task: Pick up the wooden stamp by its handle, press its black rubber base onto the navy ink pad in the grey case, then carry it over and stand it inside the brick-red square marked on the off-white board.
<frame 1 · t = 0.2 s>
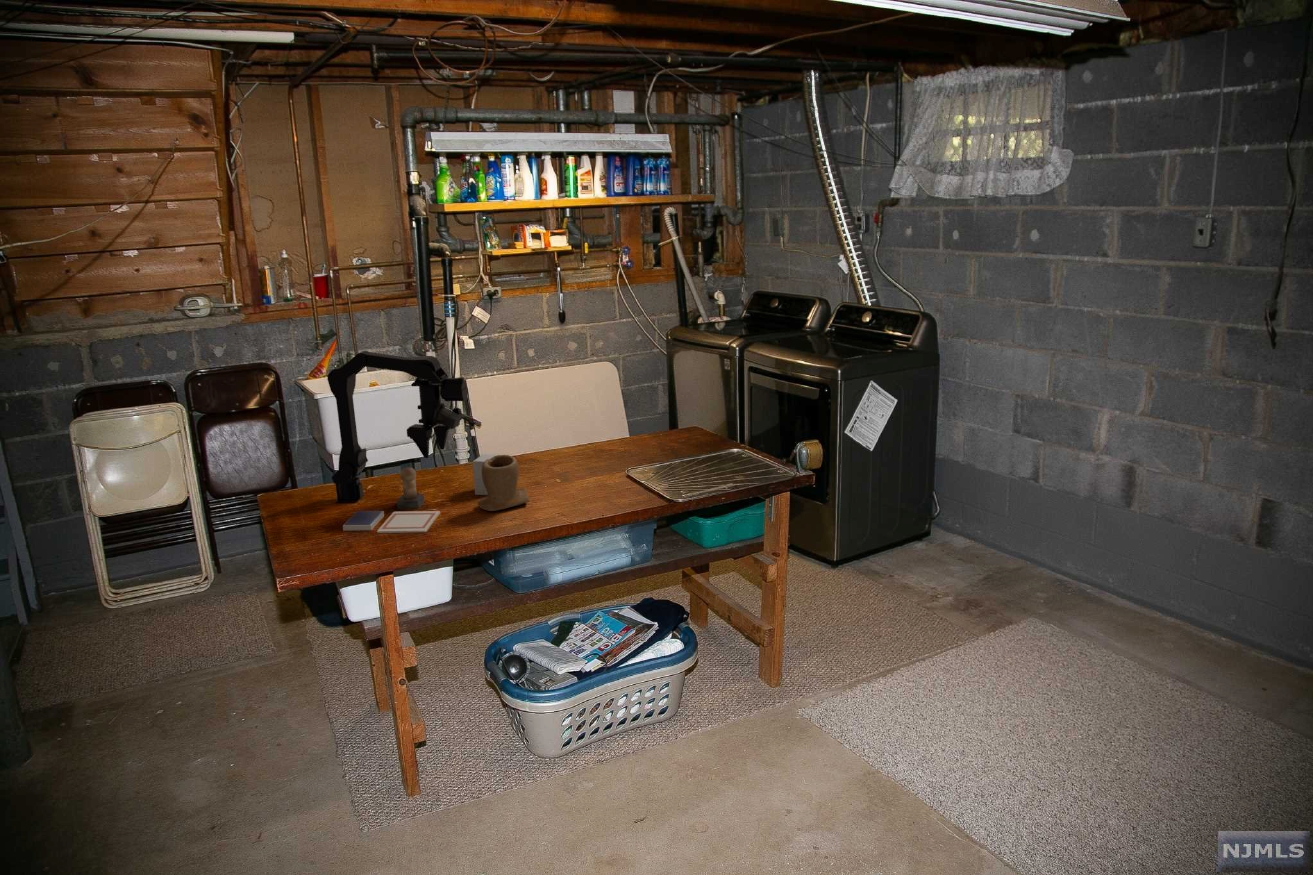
hand: (434, 453, 262), 14 cm above the table, tool pointing down, fingers open, 9 cm apart
small box: (488, 491, 273), on the table
stone cup: (506, 507, 259), on the table
stamp: (411, 505, 262), on the table
ink pad: (364, 523, 248), on the table
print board: (409, 522, 248), on the table
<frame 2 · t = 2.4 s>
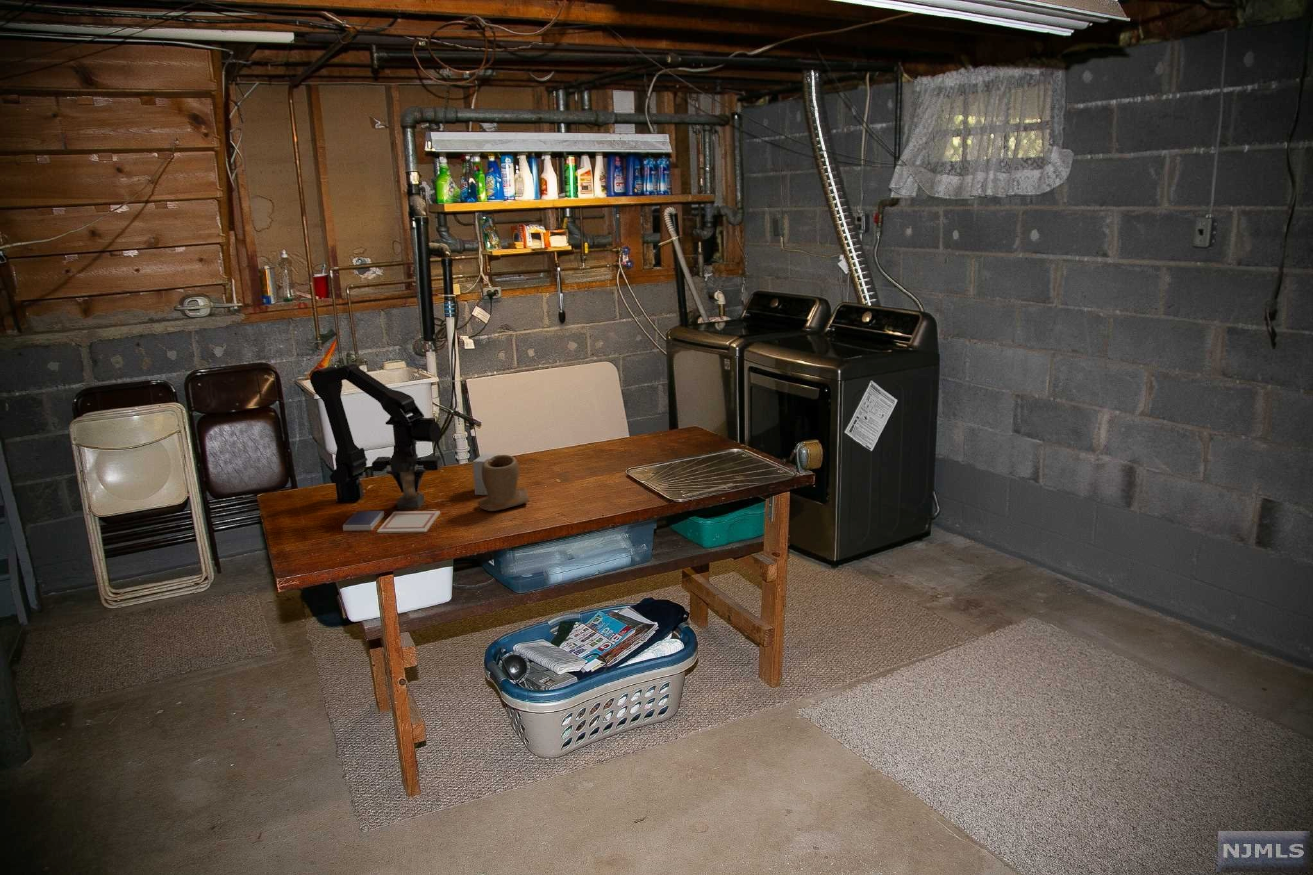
hand: (409, 492, 260), 4 cm above the table, tool pointing down, fingers closed on stamp, 4 cm apart
stamp: (411, 505, 262), on the table, touching gripper
everything else where it was.
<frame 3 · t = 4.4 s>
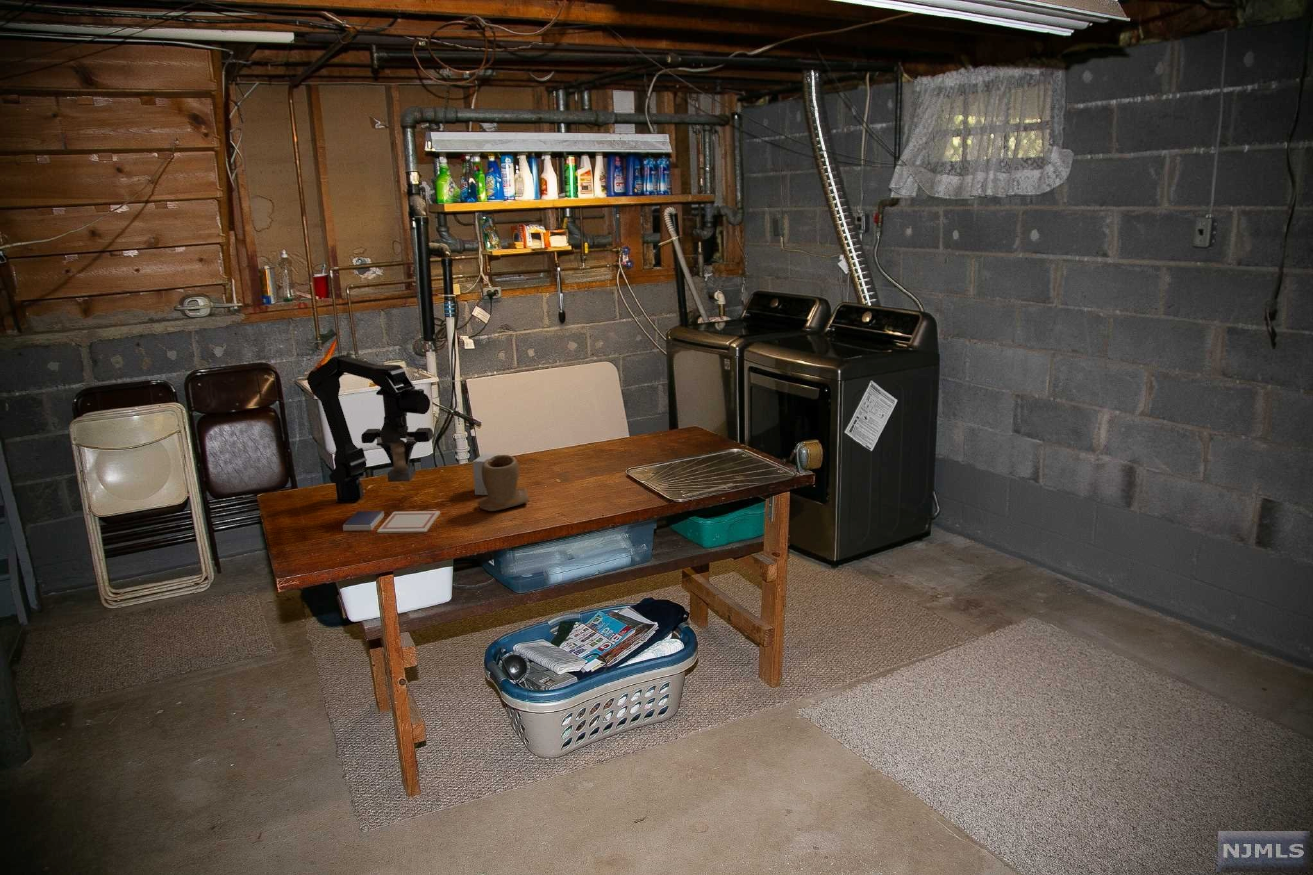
hand: (400, 464, 256), 13 cm above the table, tool pointing down, fingers closed on stamp, 4 cm apart
stamp: (401, 478, 257), point 9 cm above the table, touching gripper
everything else where it was.
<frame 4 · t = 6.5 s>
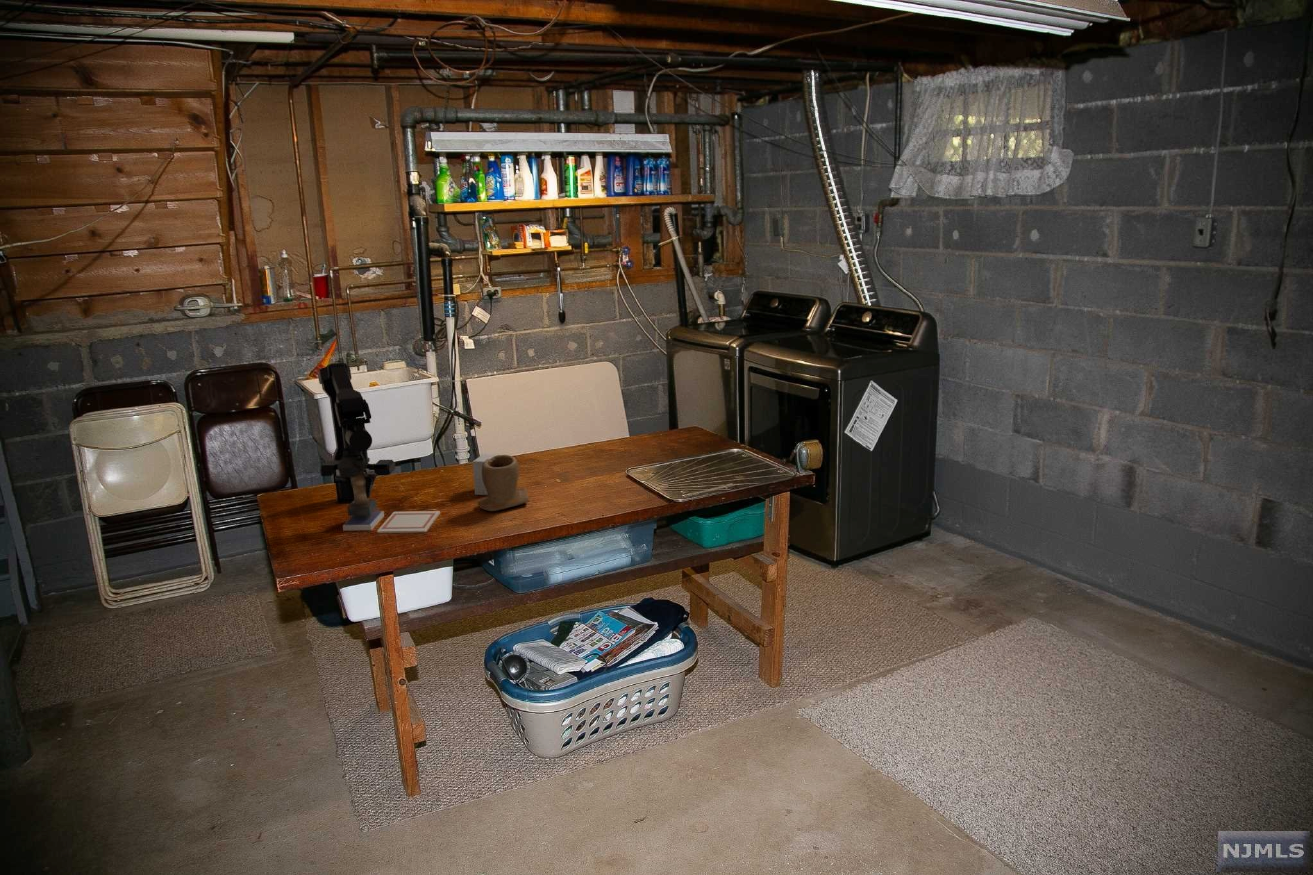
hand: (361, 497, 246), 7 cm above the table, tool pointing down, fingers closed on stamp, 4 cm apart
stamp: (362, 511, 247), point 3 cm above the table, touching gripper
everything else where it was.
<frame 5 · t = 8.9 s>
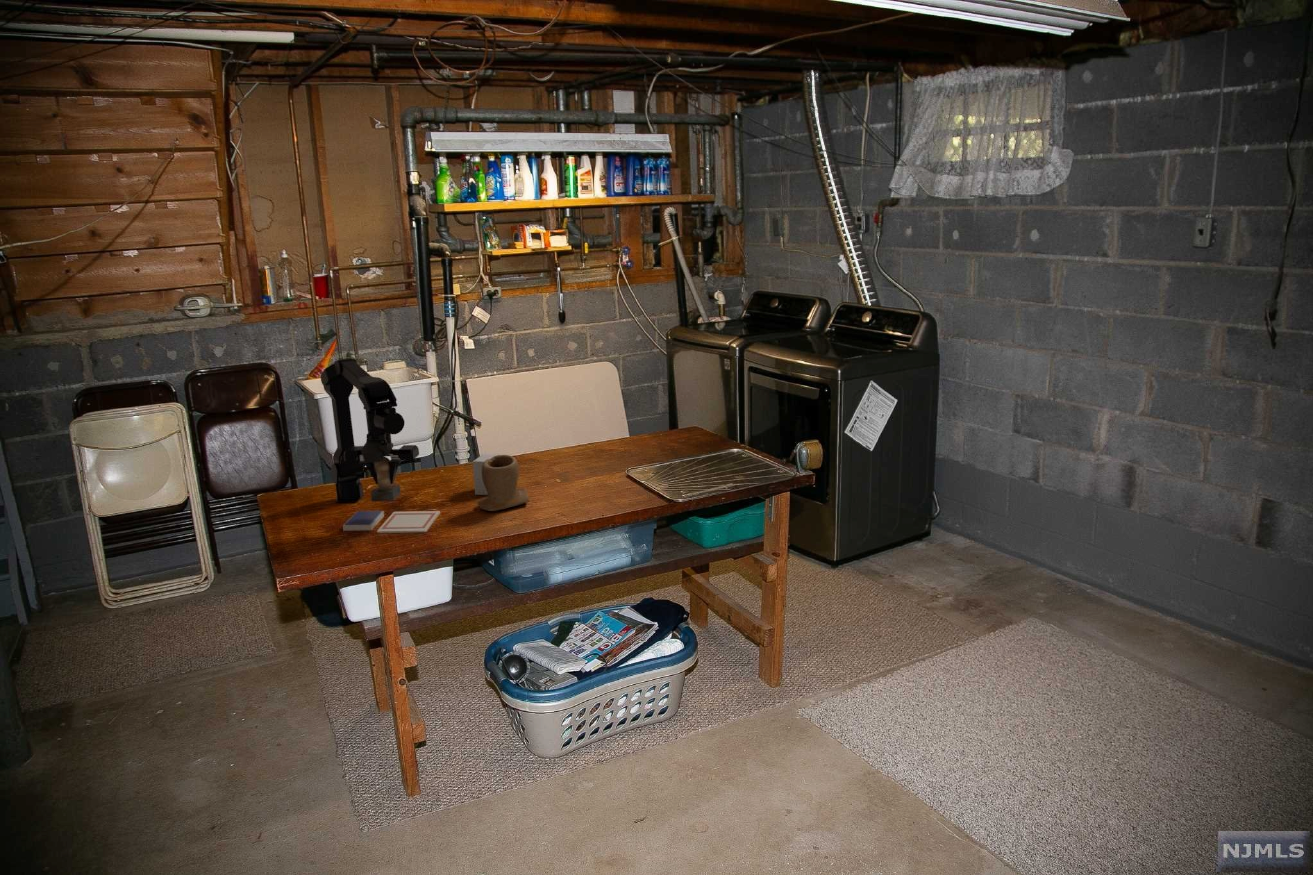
hand: (384, 483, 245), 11 cm above the table, tool pointing down, fingers closed on stamp, 4 cm apart
stamp: (386, 497, 246), point 7 cm above the table, touching gripper
everything else where it was.
when the fingers open (5 cm above the table, at t = 10.9 s): stamp drops 1 cm, resting on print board.
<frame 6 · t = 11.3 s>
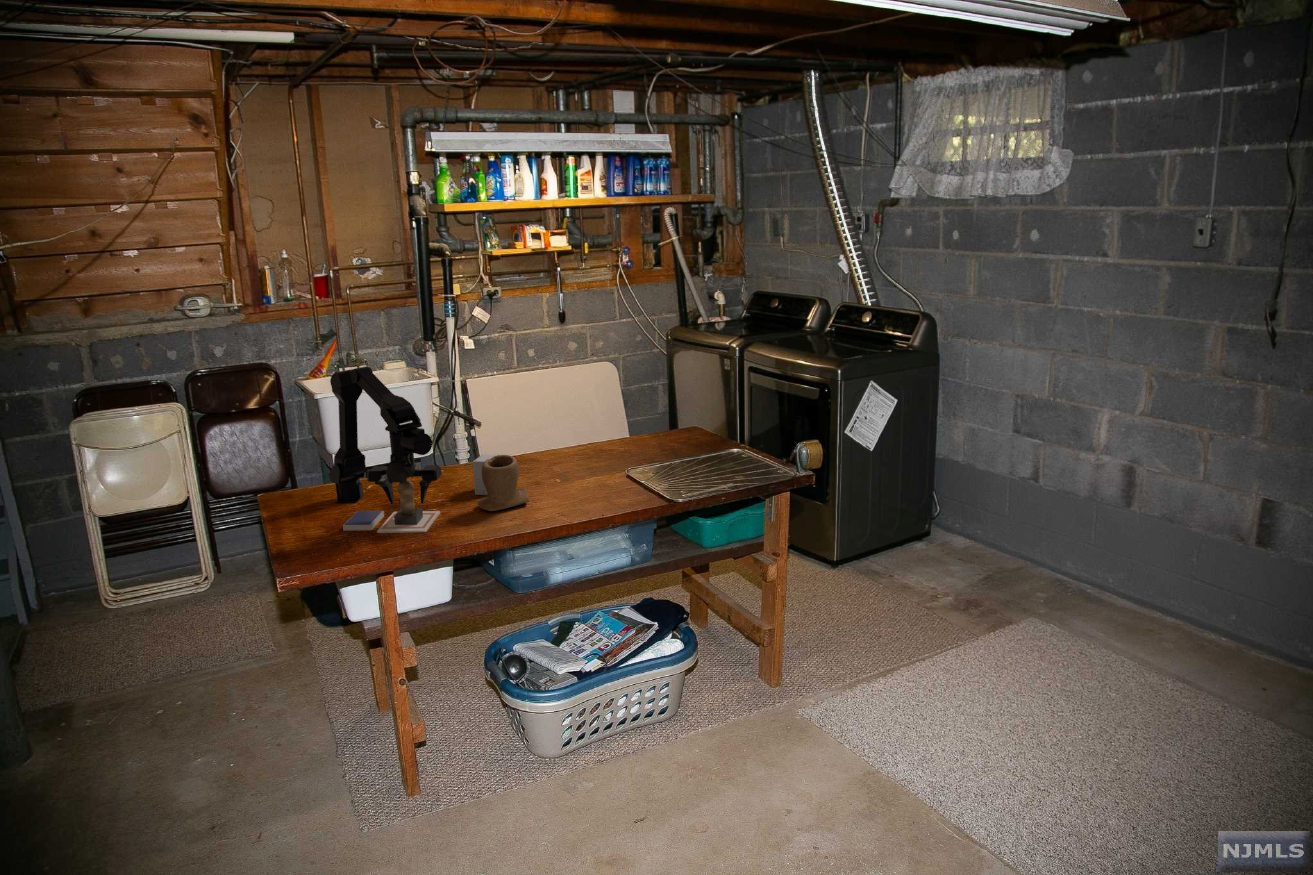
hand: (407, 503, 246), 5 cm above the table, tool pointing down, fingers open, 8 cm apart
stamp: (409, 520, 248), resting on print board
everything else where it was.
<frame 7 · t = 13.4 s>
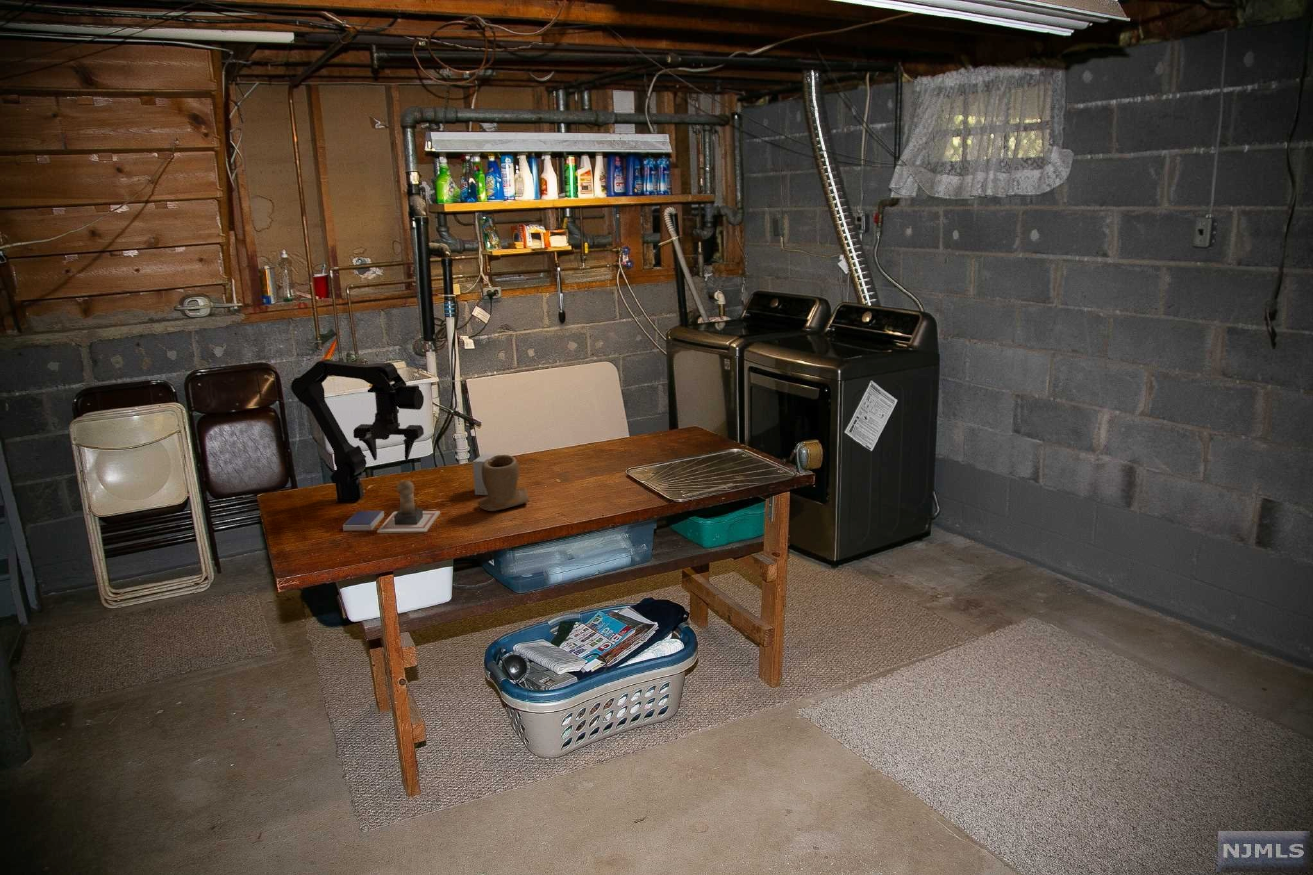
hand: (391, 460, 261), 13 cm above the table, tool pointing down, fingers open, 9 cm apart
nothing on the table moved.
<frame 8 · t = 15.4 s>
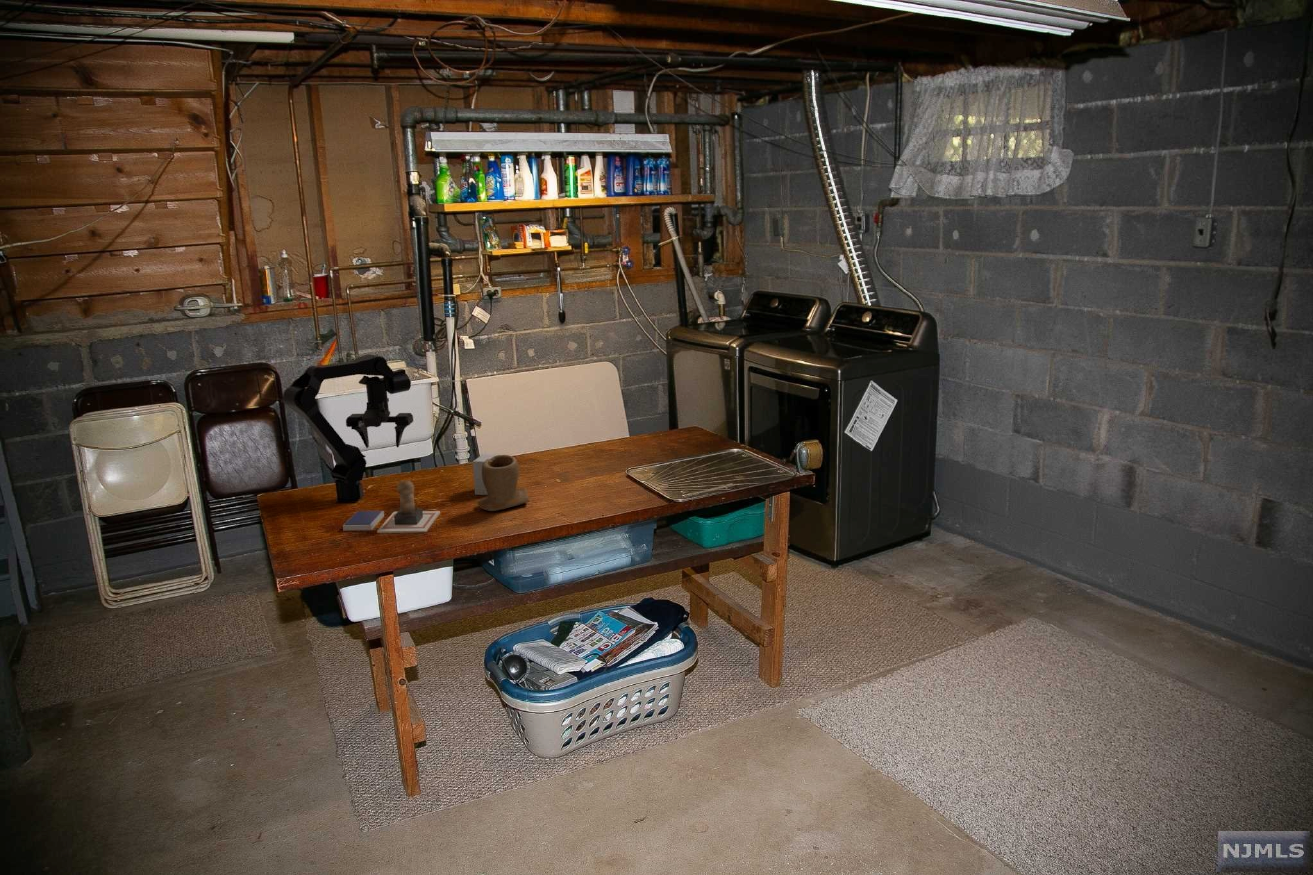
hand: (382, 447, 274), 13 cm above the table, tool pointing down, fingers open, 9 cm apart
nothing on the table moved.
at the end: stamp 0.1 cm off-centre on the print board, point 0.5 cm above the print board's base; stamp tilted 0°; the gripper is holding nothing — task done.
